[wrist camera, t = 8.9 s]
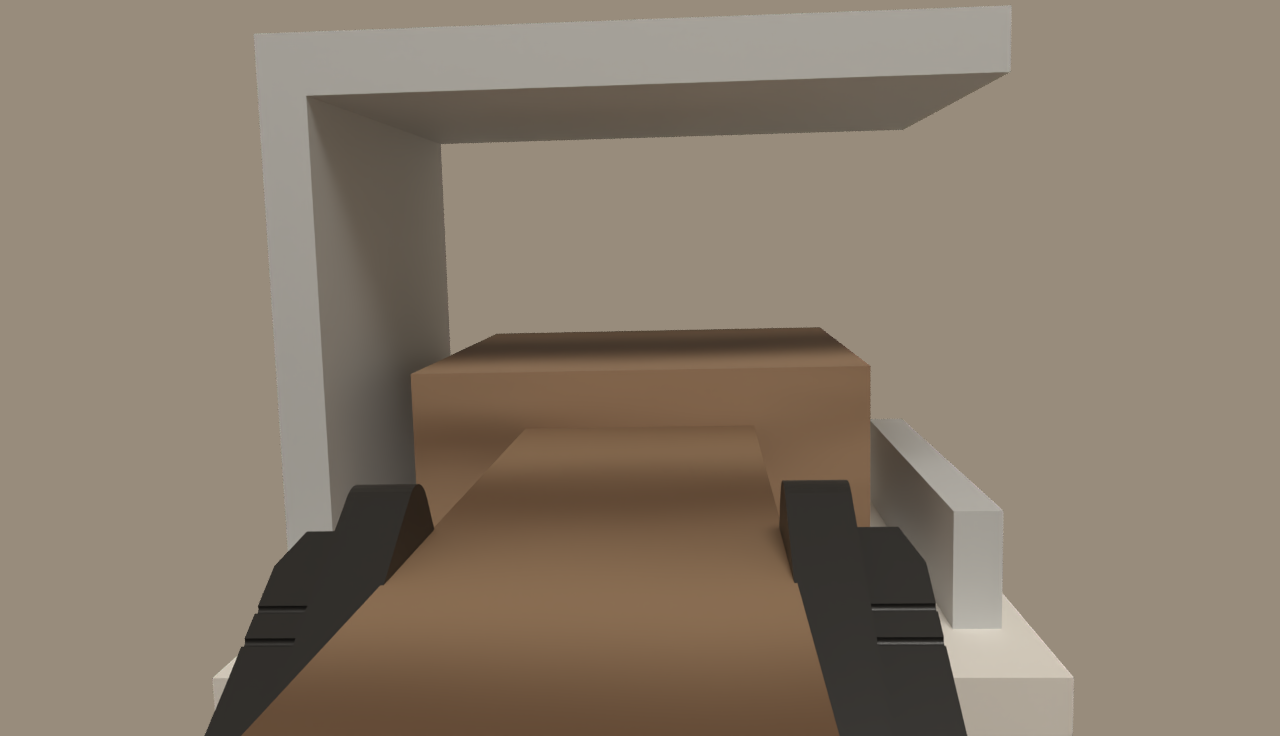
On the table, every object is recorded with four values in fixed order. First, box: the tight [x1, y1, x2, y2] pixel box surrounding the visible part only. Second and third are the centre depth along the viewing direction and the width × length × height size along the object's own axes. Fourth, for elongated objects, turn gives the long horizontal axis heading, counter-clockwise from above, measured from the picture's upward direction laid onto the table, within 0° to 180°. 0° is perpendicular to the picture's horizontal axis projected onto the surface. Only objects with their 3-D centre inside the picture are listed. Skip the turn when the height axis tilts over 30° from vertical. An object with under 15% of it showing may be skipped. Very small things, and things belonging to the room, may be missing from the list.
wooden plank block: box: [241, 327, 870, 736], centre depth 17 cm, size 20×8×4 cm, turn 177°
